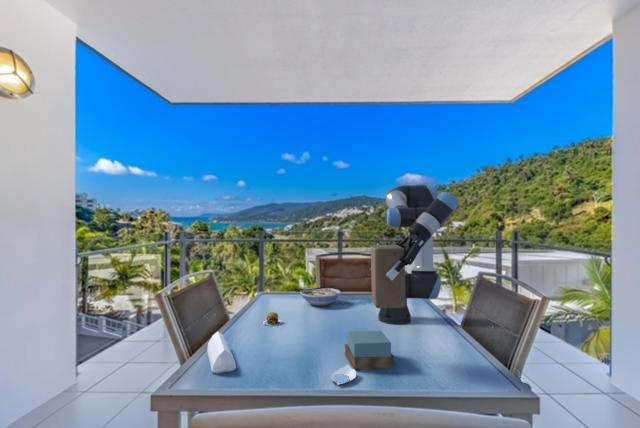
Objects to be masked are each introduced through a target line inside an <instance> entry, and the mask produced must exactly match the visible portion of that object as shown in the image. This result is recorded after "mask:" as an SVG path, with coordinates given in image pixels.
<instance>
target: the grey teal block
mask: <svg viewBox="0 0 640 428" xmlns="http://www.w3.org/2000/svg"><path fill="white" fill-rule="evenodd" d="M347 344H348V346H349V348H350V350H351V352H352V354H353V356H354V358H363V357H390V356H391V354H392V342H391V340H389V338H388V337H387V336H386V335H385V334H384V333H383V331H382V330H361V331H360V330H357V331H347Z"/></svg>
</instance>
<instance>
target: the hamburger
mask: <svg viewBox="0 0 640 428" xmlns="http://www.w3.org/2000/svg"><path fill="white" fill-rule="evenodd" d="M278 323H279V324H278ZM282 323H283V321H282V320H280V319H279V314H278V313H277V312H274V311H272V312H269V313H268V314H267V315H266V320H264V321H263V322H262V324H263V325H265V326H269V327H272V326H273V327H275V326H276V325H277V326H278V325H281V324H282Z"/></svg>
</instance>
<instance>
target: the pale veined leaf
mask: <svg viewBox="0 0 640 428" xmlns="http://www.w3.org/2000/svg"><path fill="white" fill-rule="evenodd" d="M335 374H344V375H347V376H349V379H350V381H352V380H354V379H356V377H357V371H355V370H354V369H353V368H352V367H351V366H350V365H349V362H346V365H345V366H343V367H341V368H339V369H336V370H334V372H332V373H330V374H329V378H330V380H331V381H333V382H335V384H337V386H339V385H341V384H345V383H349V382H350V381H347V380H346V382H345V381H344V383H343V382H341V383H339V382H340V381H339V382H336V381H335V380H334V375H335ZM347 376H346V377H347Z"/></svg>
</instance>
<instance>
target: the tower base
mask: <svg viewBox="0 0 640 428" xmlns="http://www.w3.org/2000/svg"><path fill="white" fill-rule="evenodd" d="M344 347H345V348H344V352H345V353H344V354H345V355H344V356H345V358H346V360H347V361H348V363H349V364H350V365H351V366H350V367H351V368H352V369H354V370H355V371H356V372H362V371H361V370H364V371H374V370H388V369H389V370H391V369H394V368H395V356H394V354H393V353H391V356H390V357H363V358H354V356H353V354H352V352H351V350H350V348H349V346H348V343H345V344H344Z"/></svg>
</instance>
